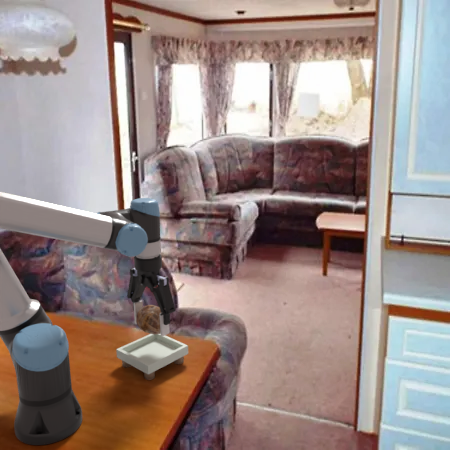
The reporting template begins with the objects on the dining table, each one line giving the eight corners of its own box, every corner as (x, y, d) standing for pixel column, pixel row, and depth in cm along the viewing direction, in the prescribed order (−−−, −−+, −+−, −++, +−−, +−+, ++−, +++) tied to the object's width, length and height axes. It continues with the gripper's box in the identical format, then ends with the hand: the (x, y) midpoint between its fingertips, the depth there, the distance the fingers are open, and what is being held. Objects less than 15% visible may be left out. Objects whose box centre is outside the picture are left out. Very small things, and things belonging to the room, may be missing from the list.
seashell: (182, 323, 145) (168, 301, 139) (164, 348, 140) (149, 327, 134) (155, 314, 151) (141, 293, 145) (138, 338, 146) (122, 317, 140)
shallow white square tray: (148, 382, 136) (147, 365, 134) (117, 365, 145) (116, 349, 143) (188, 361, 146) (188, 345, 145) (157, 346, 155) (156, 331, 154)
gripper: (186, 259, 132) (189, 335, 138) (132, 243, 148) (136, 313, 153) (165, 267, 127) (169, 345, 133) (111, 249, 142) (116, 321, 148)
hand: (151, 328), depth 143 cm, fingers closed on seashell, 11 cm apart
